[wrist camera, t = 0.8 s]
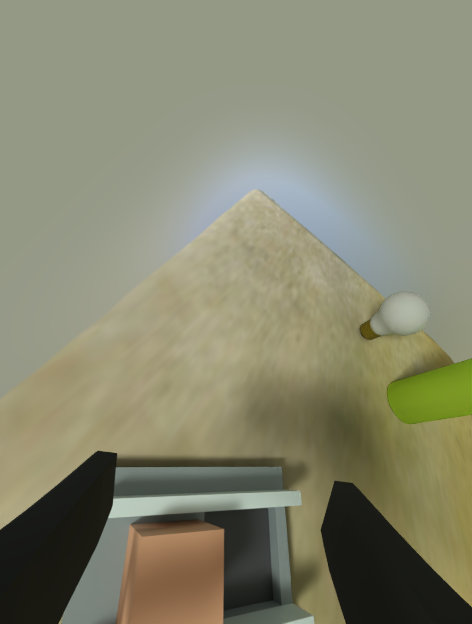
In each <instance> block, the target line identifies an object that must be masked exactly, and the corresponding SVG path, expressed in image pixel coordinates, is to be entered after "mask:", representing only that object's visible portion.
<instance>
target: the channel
mask: <svg viewBox="0 0 472 624" xmlns="http://www.w3.org/2000/svg"><path fill="white" fill-rule="evenodd" d="M298 505H302V502H301V493H300V491H297V490H283V478H282V467H116V473H115V485H114V497H113V506H112V509H111V512H110V514H109V517H108V520H107V522H106V525H105V527H104V530H103V532H102V535H101V537H100V540H99V542H98V545H97V547H96V549H95V551H94V553H93V555H92V557H91V559H90V561H89V563H88V565H87V567H86V569H85V571H84V573H83V575H82V577H81V579H80V581H79V583H78V585H77V587H76V589H75V591H74V593H73V595H72V597H71V599H70V601H69V603H68V605H67V607H66V609H65V611H64V613H63V618H62V622H61V624H116V618H117V611H118V604H119V597H120V590H121V583H122V576H123V569H124V562H125V556H126V549H127V542H128V535H129V528H130V525H131V524H144V523H157V522H170V521H182V520H195V519H199V520H201V521H204V522H207V523H209V524H212V525H215V526H217V527H220V528H222V529H224V597H223V624H314V616H313V615H311V614H310V613H308V612H307V611H305V610H303V609H302V608H300V607H298V606H297V605H295V604H293V601H292V589H291V577H290V564H289V552H288V540H287V527H286V515H285V506H298Z"/></svg>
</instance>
